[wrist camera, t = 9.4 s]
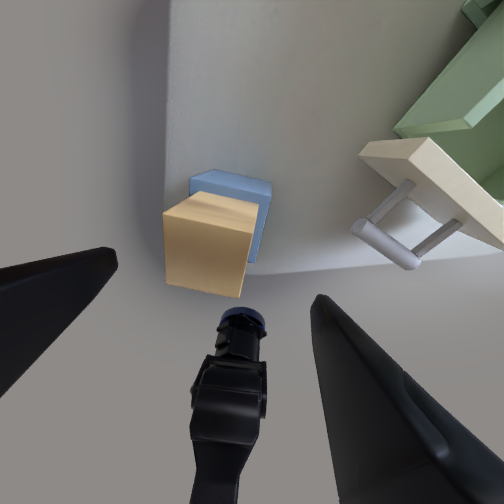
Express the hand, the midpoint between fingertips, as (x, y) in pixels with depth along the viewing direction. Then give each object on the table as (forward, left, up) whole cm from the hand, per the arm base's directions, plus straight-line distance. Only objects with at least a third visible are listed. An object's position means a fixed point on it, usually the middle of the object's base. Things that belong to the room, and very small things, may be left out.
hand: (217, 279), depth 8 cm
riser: (+1, +1, -12) cm, 12 cm away
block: (+1, +1, -6) cm, 6 cm away
